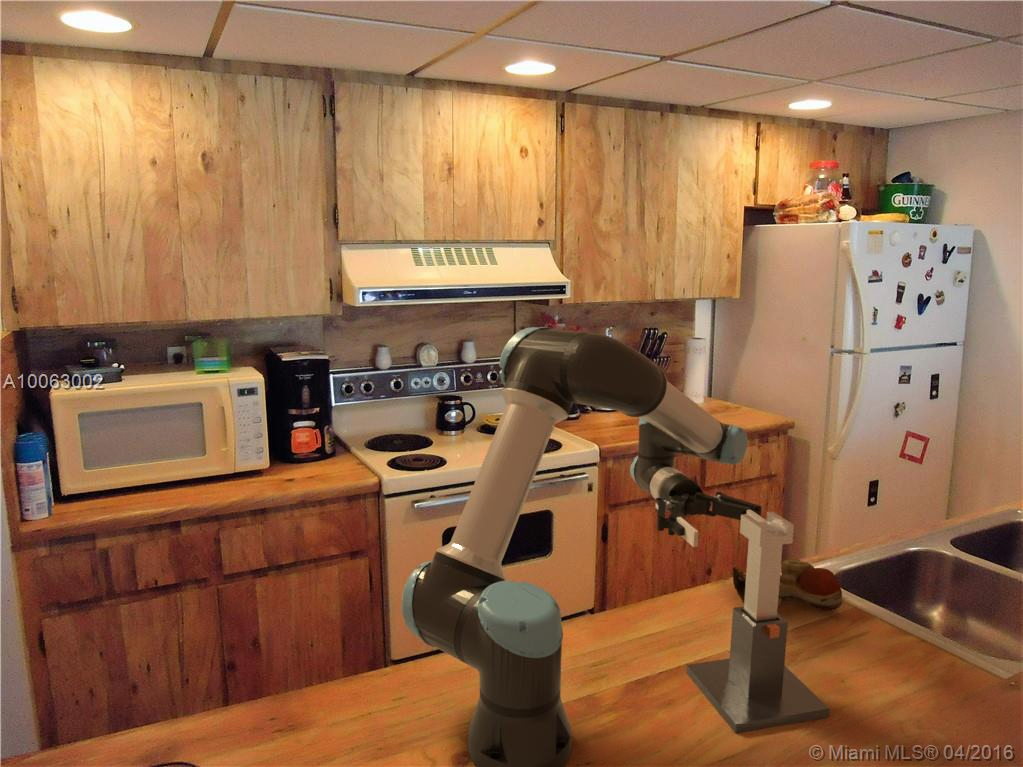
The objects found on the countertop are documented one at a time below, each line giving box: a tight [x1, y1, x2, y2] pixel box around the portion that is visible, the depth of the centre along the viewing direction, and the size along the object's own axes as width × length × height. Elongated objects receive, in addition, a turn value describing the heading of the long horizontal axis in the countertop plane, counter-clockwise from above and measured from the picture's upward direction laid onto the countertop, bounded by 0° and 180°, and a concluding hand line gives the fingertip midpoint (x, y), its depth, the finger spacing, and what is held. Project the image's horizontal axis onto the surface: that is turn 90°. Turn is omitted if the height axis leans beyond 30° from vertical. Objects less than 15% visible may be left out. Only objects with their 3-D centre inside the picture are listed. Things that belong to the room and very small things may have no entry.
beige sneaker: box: [732, 557, 844, 611], centre depth 149 cm, size 15×9×20 cm
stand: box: [685, 605, 830, 734], centre depth 119 cm, size 16×16×14 cm
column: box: [739, 511, 795, 623], centre depth 118 cm, size 6×6×28 cm
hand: (732, 535), depth 126 cm, fingers open, 13 cm apart
